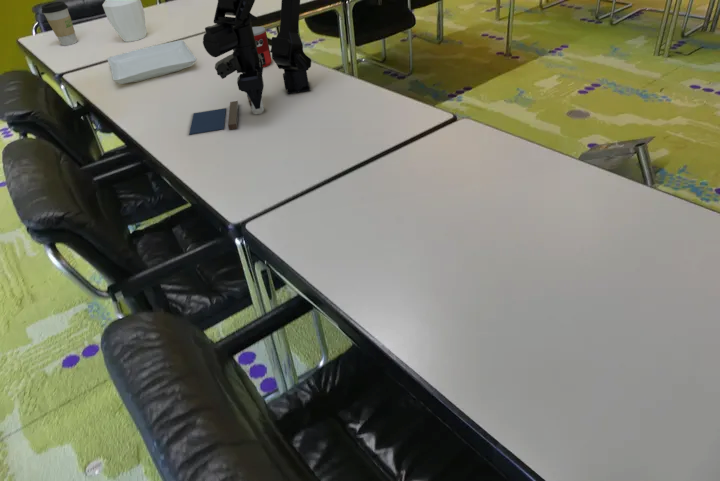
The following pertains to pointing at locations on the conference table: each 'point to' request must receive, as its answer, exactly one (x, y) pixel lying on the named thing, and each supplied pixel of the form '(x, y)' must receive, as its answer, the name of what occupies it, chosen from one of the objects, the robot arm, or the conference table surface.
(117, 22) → the vase
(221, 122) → the mat
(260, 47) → the canned food
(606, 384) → the conference table surface
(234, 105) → the bar
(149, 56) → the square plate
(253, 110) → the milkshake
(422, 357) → the conference table surface
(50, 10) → the coffee cup
